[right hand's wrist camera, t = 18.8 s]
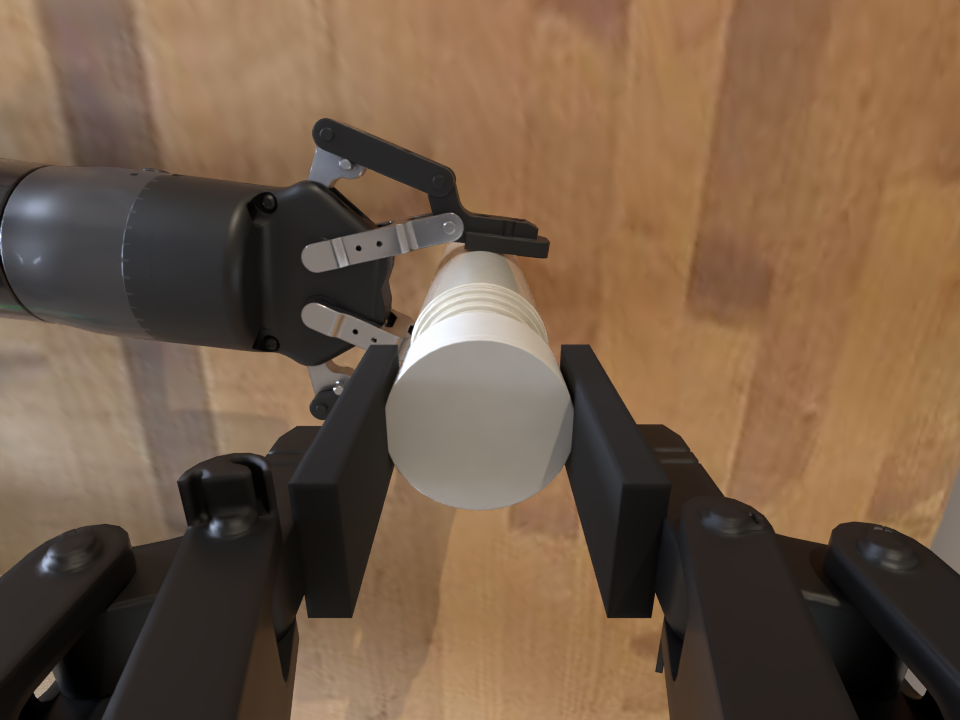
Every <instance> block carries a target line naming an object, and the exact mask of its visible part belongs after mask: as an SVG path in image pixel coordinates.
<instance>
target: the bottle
mask: <svg viewBox="0 0 960 720" xmlns="http://www.w3.org/2000/svg"><path fill="white" fill-rule="evenodd" d="M464 247H465V243H457V242H450V243H449V244H448V246H447V247H446V249H445V251H444V252H443V255H442V257H441V260H440V263H439V265H438V268H437V270H436V273H435V275H434V278H433V280H432V283H431V285H430V288H429V290H428V293H427V295H426V298H425V300H424V303H423V306H422V308H421V311H420V313H419V316H418V318H417V321H416V323H415V326H414V329H413V332H412V337H411V345H412V344H413V343H414V341H415V340H416V339H417V338H418V337H419V336H420V335H421V334H422V333H423V332H425V331H426V330H427V329H428V328H430V327H431V326H433V325H435V324H436V323H438V322H440V321H442V320H444V319H446V318H449V317H453V316H456V315H460V314H465V313H474V312H485V313H494V314H499V315H504V316H507V317H510V318H513V319H515V320H517V321H519V322H521V323H523V324H525V325H526V326H528V327H529V328H531V329H532V330H533V331H535V332H536V333H537V334H538V335H539V336H540V337H541V338H542V339H543V340H544V341H545V342H546V344H547V345H548V346H549V344H548V336H547V332H546V328H545V326H544V323H543V321H542V318H541V316H540V313H539V311H538V308H537V305H536V303H535V300H534V298H533V295H532V293H531V290H530V288H529V285H528V282H527V280H526V277H525V275H524V272H523V270H522V267H521V265H520V262H519V260H518V257H517V255H509V254H501V253H493V252H487V251H476V250H468V249H464ZM411 345H410V347H411Z"/></svg>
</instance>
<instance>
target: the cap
mask: <svg viewBox="0 0 960 720" xmlns="http://www.w3.org/2000/svg"><path fill="white" fill-rule="evenodd" d="M385 410H386V425H387V439H388V452H389V454H390V457H391V459H392V461H393V463H394V464H395V466H396V468H397V469H398V471H399V472H400V473H401V474H402V476H403V477H404V478H405V479H406V480H407V481H408V482H409V483H410V484H411V485H412V486H413V487H414V488H416V489H417V490H418V491H420V492H421V493H422V494H424V495H426V496H428V497H429V498H431V499H433V500H435V501H437V502H440V503H442V504H445V505H448V506H452V507H455V508H461V509H467V510H492V509H498V508H504V507H507V506H511V505H514V504H517V503H519V502H522V501H524V500H526V499H528V498H530V497H532V496H533V495H535V494H536V493H538V492H539V491H541V490H542V489H544V488H545V487H546V486H547V485H548V484H549V483H550V482H551V481H552V480H553V479H554V478H555V477H556V476H557V474H558V473H559V472H560V471H561V469H562V467H563V466H564V464H565V463H566V461H567V459H568V456H569V454H570V452H571V445H572V431H573V417H574V407H573V403H572V400H571V397H570V394H569V392H568V389H567V386H566V384H565V381H564V378H563V376H562V373H561V371H560V368H559V365H558V363H557V361H556V358H555V356H554V354H553V352H552V351H551V349H550V348H549V346H548V345H547V344H546V342H545V341H544V340H543V339H542V338H541V337H540V336H539V335H538V334H537V333H536V332H535V331H533V330H532V329H531V328H529V327H528V326H526V325H525V324H523V323H521V322H519V321H517V320H515V319H513V318H510V317H507V316H504V315H499V314H494V313H485V312H474V313H465V314H460V315H456V316H453V317H449V318H446V319H444V320H442V321H440V322H438V323H436V324H435V325H433V326H431V327H430V328H428V329H427V330H426V331H425V332H423V333H422V334H421V335H420V336H419V337H418V338H417V339H416V340H415V341H414V343H413V344H412V345H411V347H410V348H409V350H408V351H407V353H406V355H405V357H404V359H403V361H402V363H401V366H400V368H399V371H398V373H397V376H396V378H395V381H394V384H393V386H392V389H391V391H390V394H389V396H388V400H387V403H386V406H385Z"/></svg>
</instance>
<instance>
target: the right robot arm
mask: <svg viewBox="0 0 960 720" xmlns="http://www.w3.org/2000/svg"><path fill="white" fill-rule="evenodd" d="M398 371H399V352H398V345H370V346H369V347H368V349H367V351H366V353H365V354H364V356H363V358H362V359H361V361H360V363H359V364H358V366H357V368H356V369H355V371H354V373H353V374H352V376H351V378H350V379H349V381H348V383H347V385H346V386H345V388H344V390H343V391H342V393H341V395H340V396H339V398H338V400H337V401H336V403H335V405H334V406H333V408H332V410H331V412H330V413H329V415H328V417H327V418H326V420H325V422H324V423H323V425H322V426H296V427H295V428H293V429H292V430H290V431H289V432H287V433H286V434H284V435H283V436H281V437H280V438H279V439H278V440H277V441H276V443H275V444H274V446H273V447H272V448H271V450H270V451H269V454H267V455H266V457H263V456H261V455H257V454H252V453H232V454H227V455H222V456H217V457H214V458H211V459H209V460H206V461H203V462H201V463H199V464H197V465H195V466H194V467H192V468H190V469H189V470H187V471H186V472H185V473H184V474H183V475H182V476H181V477H180V478H179V479H178V480H177V483H178V487H179V491H180V496H181V500H182V504H183V508H184V512H185V516H186V520H187V525H188V528H187V530H186V533H185V535H184V536H181V537H177V538H174V539H170V540H165V541H160V542H155V543H150V544H146V545H141V546H136V547H132V546H131V543H130V539H129V536H128V533H127V532H126V531H125V530H124V529H123V528H121V527H120V526H115V525H109V524H101V525H92V526H85V527H80V528H78V529H73V530H70V531H67V532H65V533H63V534H61V535H59V536H57V537H55V538H53V539H51V540H48V541H46V542H45V543H43V544H42V545H40V546H39V547H38V548H36V549H35V550H33V551H32V552H30V553H29V554H28V555H26V556H25V557H24V558H23V559H22V560H21V561H19V562H18V563H17V564H16V565H15V566H14V567H12V568H11V569H10V570H9V571H8V572H7V573H5V574H4V575H3V576H2V577H1V578H0V720H290V716H291V707H292V698H293V689H294V680H295V671H296V662H297V653H298V645H299V634H298V627H297V621H296V614H297V611H298V609H299V606H300V604H301V601H302V599H303V596H304V594H305V601H306V607H307V614H308V618H352V616H353V612H354V609H355V605H356V601H357V598H358V594H359V591H360V587H361V583H362V580H363V576H364V573H365V569H366V566H367V562H368V558H369V555H370V551H371V548H372V544H373V540H374V537H375V533H376V530H377V526H378V522H379V519H380V515H381V512H382V508H383V504H384V501H385V497H386V494H387V490H388V487H389V483H390V479H391V476H392V472H393V469H394V465H395V464H394V463H393V461H392V459H391V457H390V454H389V452H388V439H387V425H386V410H385V406H386V403H387V400H388V396H389V394H390V391H391V389H392V386H393V384H394V381H395V378H396V376H397V373H398ZM560 371H561V373H562V376H563V378H564V381H565V384H566V386H567V389H568V392H569V394H570V397H571V400H572V403H573V407H574V417H573V431H572V445H571V452H570V454H569V456H568V459H567V461H566V463H565V467H566V471H567V474H568V478H569V481H570V485H571V489H572V492H573V496H574V499H575V503H576V507H577V510H578V514H579V517H580V521H581V525H582V528H583V532H584V535H585V539H586V543H587V546H588V550H589V553H590V557H591V560H592V564H593V568H594V571H595V575H596V578H597V582H598V586H599V589H600V593H601V596H602V600H603V604H604V607H605V611H606V614H607V618H651V616H652V610H653V603H654V597H655V593H656V595H657V598H658V600H659V603H660V605H661V608H662V610H663V612H664V621H663V627H662V633H661V639H660V645H659V652H658V658H657V664H656V671H655V672H658V673H662V672H663V667H664V670H665V679H666V688H667V697H668V706H669V715H670V720H960V575H959V574H958V573H957V572H956V571H954V570H953V569H952V568H951V567H950V566H949V565H947V564H946V563H945V562H944V561H943V560H941V559H940V558H939V557H938V556H937V555H936V554H934V553H933V552H932V551H931V550H929V549H928V548H926V547H925V546H923V545H922V544H920V543H919V542H918V541H916V540H915V539H913V538H911V537H908V536H906V535H904V534H902V533H900V532H898V531H896V530H894V529H891V528H888V527H885V526H884V527H883V526H882V525H877V524H872V523H863V522H849V523H842V524H839V525H838V526H837V527H836V528H834V529H833V530H832V533H831V536H830V540H829V543H828V545H826V544H821V543H816V542H811V541H806V540H801V539H796V538H791V537H787V536H783V535H780V534H776V533H775V532H774V529H773V527H772V525H771V524H770V523H769V522H768V520H767V519H766V518H765V516H764V515H762V514H761V513H760V512H758V511H757V510H755V509H754V508H753V507H751V506H749V505H747V504H744V503H742V502H740V501H738V500H735V499H731V498H727V497H724V495H723V494H722V492H721V491H720V490H719V488H718V487H717V486H716V484H715V483H714V481H713V480H712V479H711V477H710V476H709V475H708V473H707V472H706V470H705V469H704V468H703V466H702V465H701V464H699V463H698V459H697V458H696V457H695V455H694V454H693V453H692V452H690V448H689V447H688V446H687V444H686V443H685V442H684V440H683V439H682V437H681V436H680V435H678V434H677V433H675V432H673V431H672V430H670V429H669V428H667V427H666V426H664V425H663V424H636V423H635V421H634V419H633V418H632V416H631V414H630V413H629V411H628V409H627V408H626V406H625V404H624V402H623V401H622V399H621V397H620V396H619V394H618V392H617V391H616V389H615V387H614V386H613V384H612V382H611V381H610V379H609V377H608V375H607V374H606V372H605V370H604V369H603V367H602V365H601V364H600V362H599V360H598V359H597V357H596V355H595V354H594V352H593V350H592V349H591V347H590V345H561V359H560ZM908 668H909V669H910V670H911V671H912V673H913V674H914V675H915V676H916V677H917V678H918V680H919V681H920V682H921V683H922V684H923V685H924V686H925V688H926V689H927V690H926V693H925V695H924V696H921V695H920V694H919V693H918V692H917V691H915V690H914V689H913V688H912V686H911V685H910V684H909V683H908V682H907V680H906V679H905V678H904V677H905V674H906V672H907V670H908ZM51 671H52V672H53V674H54V677H55V679H56V680H55V681H54V683H53V684H52V685H51V686H50V687H49V689H48V690H47V691H46V692H45V693H44V694H42V695H41V696H40V697H39V698H38V699H37V698H36V697H35V695H34V691H35V690H36V688H37V687H38V686H39V685H40V684H41V683H42V681H43V680H44V679H45V678H46V677H47V676H48V674H49V673H50V672H51Z"/></svg>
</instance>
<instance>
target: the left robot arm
mask: <svg viewBox="0 0 960 720" xmlns="http://www.w3.org/2000/svg"><path fill="white" fill-rule="evenodd" d="M312 136H313V139H314V142H315V143H316V145H317V148H316V151H315V155H314V159H313V162H312V166H311V170H310V173H309V177H308V180H307V181H301V182H298V183H296V184H294V185H292V186H289V187H286V188H285V187H272V186H264V185H256V184H248V183H241V182H233V181H225V180H217V179H209V178H201V177H193V176H185V175H177V174H170V173H168V172H165V171H162V170H157V169H150V168H145V169H141V170H137V169H129V168H121V167H110V166H58V165H50V164H42V163H34V162H26V161H18V160H10V159H2V158H0V318H9V319H18V320H27V321H35V322H44V323H53V324H61V325H66V326H71V327H75V328H79V329H83V330H86V331H90V332H95V333H99V334H105V335H112V336H120V337H129V338H138V339H146V340H155V341H163V342H172V343H181V344H190V345H199V346H208V347H217V348H225V349H234V350H243V351H252V352H275V353H280V354H283V355H285V356H288V357H289V358H291V359H293V360H294V361H296V362H298V363H299V364H302V365H305V366H307V367H308V371H309V374H310V378H311V382H312V385H313V389H314V392H315V398H314V399H313V400H312V402H311V404H310V412H311V414H312V415H313V416H314V417H315V418H317V419H320V420H326V418H327V417H328V415H329V413H330V412H331V410H332V408H333V406H334V405H335V403H336V401H337V400H338V398H339V396H340V395H341V393H342V391H343V390H344V388H345V386H346V385H347V383H348V381H349V379H350V378H351V376H352V374H353V373H354V371H355V370H354V369H352V368H350V367H341V366H338V365H336V364H335V363H334V362H333V361H332V360H331V359H333V358H335V357H337V356H338V355H340V354H342V353H344V352H346V351H348V350H349V349H351V348H353V347H355V346H358V347H360V348H362V349H365V350H367V349H368V347H369V346H370V345H398V352H399V360H400V361H403V359H404V357H405V355H406V353H407V351H408V350H409V348H410V345H411V337H412V332H413V329H414V326H415V322H414V321H413V320H412V319H411V318H410V317H408V316H407V315H404V314H402V313H400V312H398V311H396V310H393V309H391V302H392V295H391V290H390V286H389V278H390V275H391V272H392V269H393V266H394V256H395V255H400V254H404V253H408V252H410V251H413V250H416V249H420V248H425V247H430V246H434V245H439V244H444V243H448V242H457V243H465V247H464V249H468V250H476V251H487V252H493V253H501V254H509V255H517V256H526V257H534V258H547V257H548V251H549V245H550V241H549V240H548V239H547V238H545V237H542V236H537V235H538V228H537V227H536V225H534V224H532V223H530V222H529V221H527V220H525V219H518V218H510V217H502V216H494V215H486V214H478V213H472V212H469V211H468V210H466V209H465V208H464V207H463V206H462V204H461V202H460V199H459V194H458V190H457V186H456V177H455V174H454V172H453V171H452V169H450V168H449V167H447V166H444V165H442V164H440V163H437V162H435V161H433V160H430V159H428V158H426V157H423V156H421V155H419V154H416V153H414V152H412V151H409V150H407V149H405V148H402V147H400V146H398V145H395V144H393V143H390V142H388V141H386V140H383V139H381V138H379V137H376V136H374V135H372V134H369V133H367V132H365V131H362V130H360V129H358V128H355V127H353V126H351V125H348V124H346V123H343V122H339V121H336V120H332V119H328V118H324V119H321V120H319V121H317V122H316V123H315V125H314V127H313V130H312ZM367 168H368V169H370V170H373V171H375V172H378V173H380V174H382V175H385V176H387V177H390V178H392V179H394V180H397V181H399V182H402V183H404V184H406V185H409V186H411V187H414V188H416V189H418V190H421V191H423V192H426V193H427V194H428V197H429V201H430V205H431V209H432V212H430V213H426V214H421V215H417V216H409V217H404V218H399V219H395V220H390V221H386V222H381V223H377V224H375V223H374V222H372V221H371V220H370V219H369V218H368V217H367V216H366V215H365V214H363V213H362V212H361V211H360V210H359V209H358V208H357V207H356V206H355V205H353V204H352V203H351V202H350V201H349V200H348V199H347V198H346V197H345V196H343V195H342V194H341V193H340V192H339V191H338V190H337V189H336V188H334V185H335V183H336V182H337V181H338V180H339V179H341V178H346V179H357V178H360V177H362V176H363V175H364V174H365V173H366V171H367ZM386 320H387V321H386ZM374 338H376V339H374Z"/></svg>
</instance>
